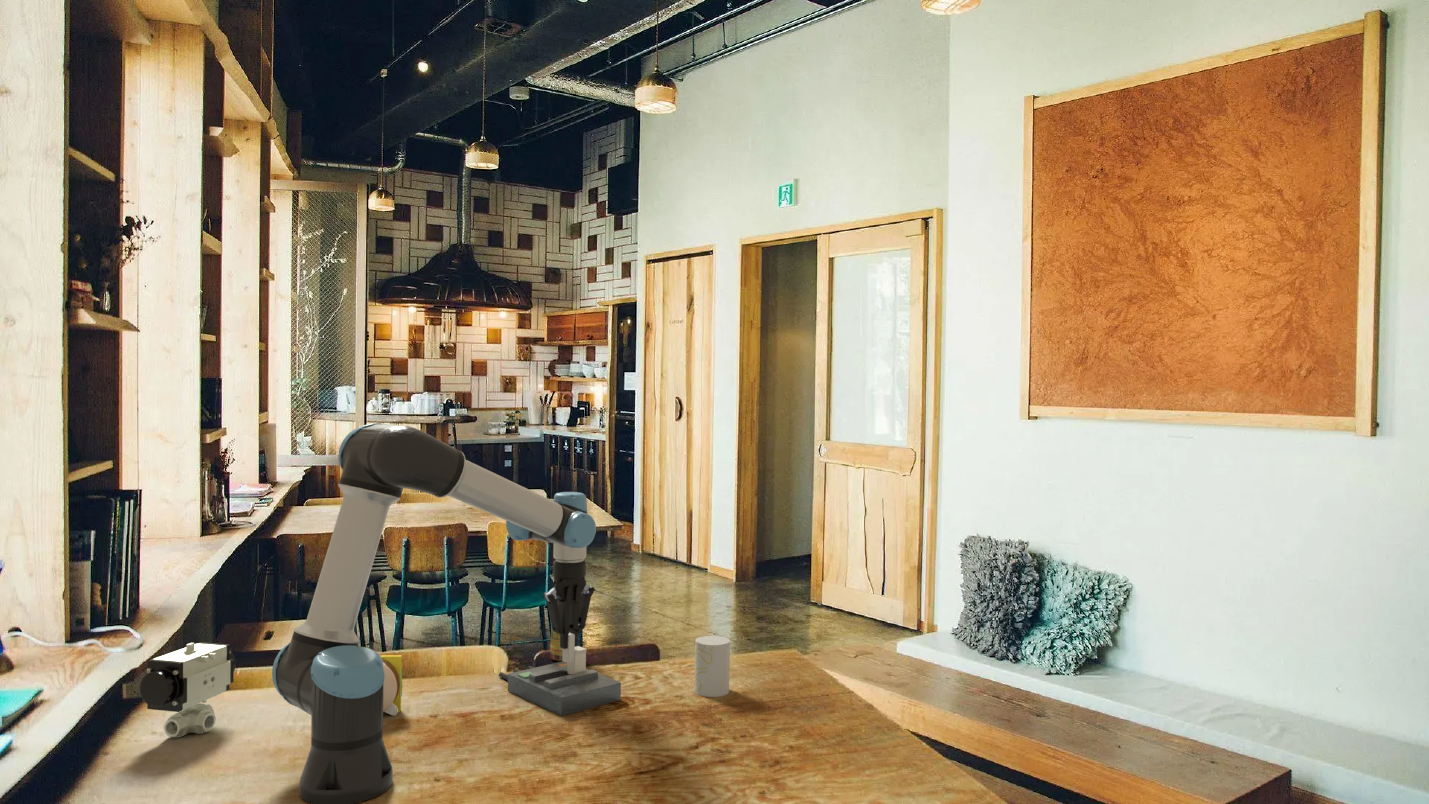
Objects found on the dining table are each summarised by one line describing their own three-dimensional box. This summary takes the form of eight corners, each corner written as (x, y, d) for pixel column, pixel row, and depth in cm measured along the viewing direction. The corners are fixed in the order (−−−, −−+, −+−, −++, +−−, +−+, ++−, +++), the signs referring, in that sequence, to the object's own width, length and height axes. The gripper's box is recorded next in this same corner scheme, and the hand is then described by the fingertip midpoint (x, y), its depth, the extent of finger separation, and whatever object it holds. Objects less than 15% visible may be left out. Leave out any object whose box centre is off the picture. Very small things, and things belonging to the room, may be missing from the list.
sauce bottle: (545, 661, 236) (547, 584, 236) (556, 654, 242) (558, 579, 242) (568, 663, 234) (570, 586, 234) (579, 657, 240) (580, 581, 240)
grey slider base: (620, 700, 207) (620, 677, 207) (561, 716, 196) (561, 692, 196) (542, 667, 231) (543, 647, 231) (486, 680, 220) (486, 659, 220)
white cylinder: (689, 688, 217) (689, 637, 216) (720, 684, 220) (720, 634, 220) (703, 698, 209) (704, 646, 209) (734, 694, 213) (735, 643, 213)
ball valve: (175, 750, 175) (176, 658, 174) (137, 746, 176) (138, 654, 176) (242, 718, 192) (243, 634, 192) (207, 714, 194) (207, 631, 194)
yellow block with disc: (334, 721, 192) (335, 664, 191) (347, 707, 200) (348, 652, 200) (393, 720, 192) (394, 663, 192) (403, 706, 201) (404, 652, 201)
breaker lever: (586, 673, 212) (586, 649, 212) (574, 676, 210) (575, 651, 210) (578, 670, 215) (578, 646, 214) (566, 673, 212) (567, 648, 212)
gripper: (583, 554, 218) (582, 652, 218) (536, 560, 209) (535, 663, 209) (602, 558, 212) (600, 659, 212) (554, 565, 203) (553, 671, 203)
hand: (568, 661), depth 211 cm, fingers closed
